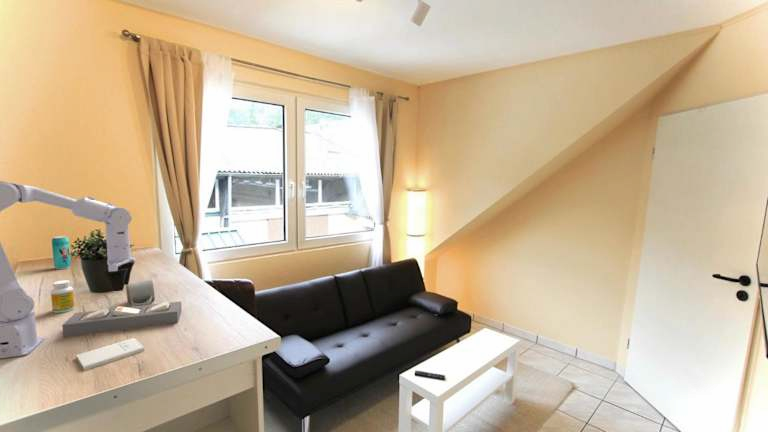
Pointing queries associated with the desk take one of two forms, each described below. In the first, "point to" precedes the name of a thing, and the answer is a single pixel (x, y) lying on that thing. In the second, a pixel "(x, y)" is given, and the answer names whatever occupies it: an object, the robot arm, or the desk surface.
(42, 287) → the desk surface
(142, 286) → the ceramic mug
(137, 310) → the rocker
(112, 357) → the external hard drive
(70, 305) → the supplement bottle
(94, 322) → the rocker switch panel
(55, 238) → the beverage can
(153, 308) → the rocker
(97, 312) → the rocker
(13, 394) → the desk surface
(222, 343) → the desk surface
